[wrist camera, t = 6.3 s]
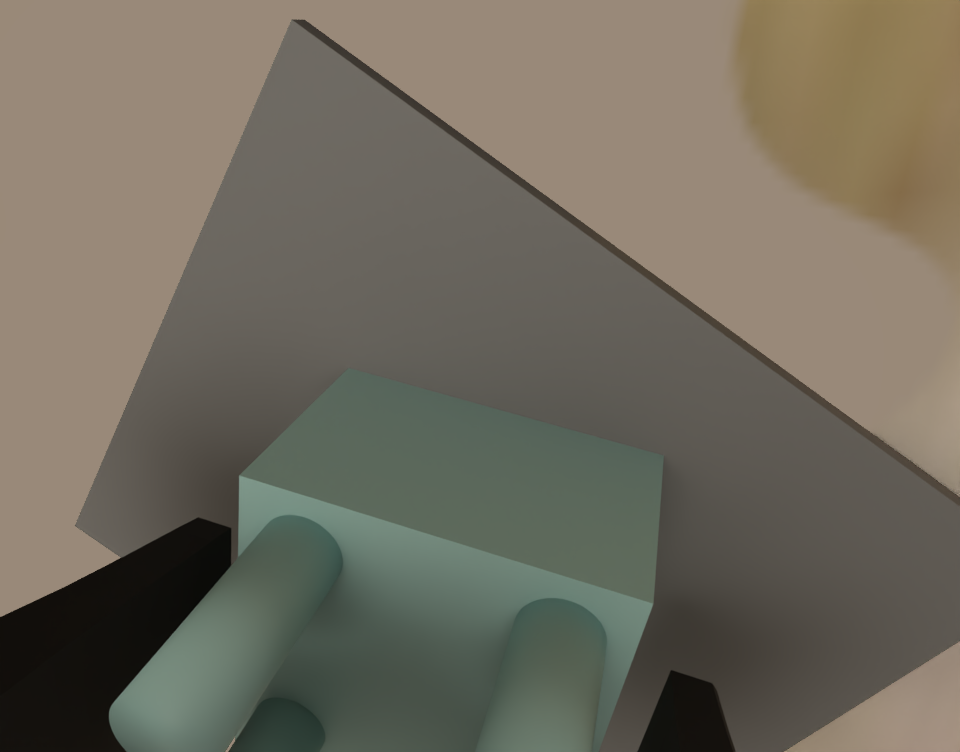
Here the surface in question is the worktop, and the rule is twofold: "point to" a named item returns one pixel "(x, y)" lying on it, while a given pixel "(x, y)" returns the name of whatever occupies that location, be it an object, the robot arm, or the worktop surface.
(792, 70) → the worktop surface
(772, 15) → the worktop surface
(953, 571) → the mat
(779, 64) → the worktop surface
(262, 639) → the stool
